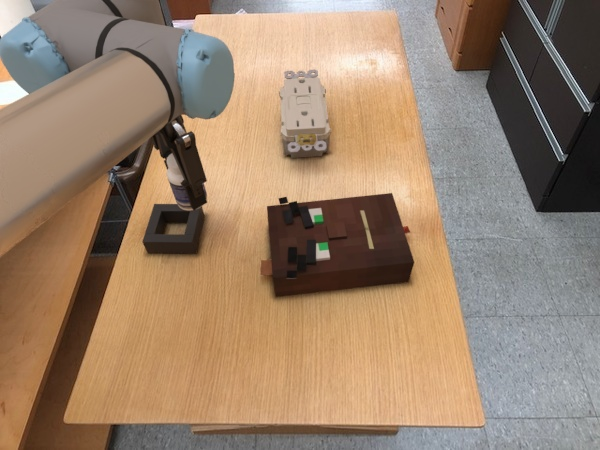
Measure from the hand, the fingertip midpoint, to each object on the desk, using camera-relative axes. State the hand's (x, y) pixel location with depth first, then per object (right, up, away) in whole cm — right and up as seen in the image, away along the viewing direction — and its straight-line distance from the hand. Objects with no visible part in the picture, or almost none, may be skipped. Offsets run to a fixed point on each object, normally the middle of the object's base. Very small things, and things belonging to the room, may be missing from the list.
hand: (190, 194), depth 77 cm
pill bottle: (0, -1, +1) cm, 2 cm away
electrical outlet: (+20, +17, +35) cm, 44 cm away
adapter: (-7, -7, +16) cm, 19 cm away
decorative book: (+26, -11, +12) cm, 31 cm away
